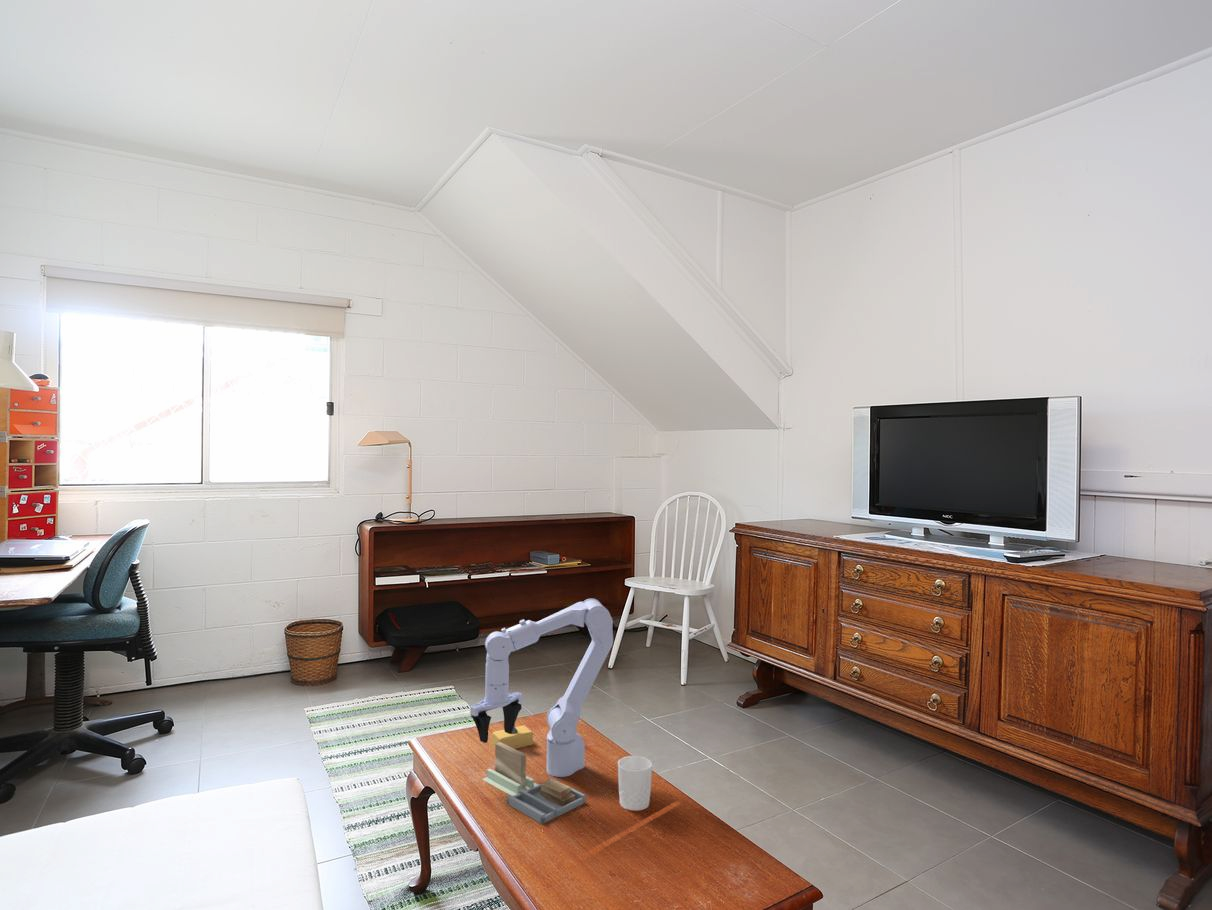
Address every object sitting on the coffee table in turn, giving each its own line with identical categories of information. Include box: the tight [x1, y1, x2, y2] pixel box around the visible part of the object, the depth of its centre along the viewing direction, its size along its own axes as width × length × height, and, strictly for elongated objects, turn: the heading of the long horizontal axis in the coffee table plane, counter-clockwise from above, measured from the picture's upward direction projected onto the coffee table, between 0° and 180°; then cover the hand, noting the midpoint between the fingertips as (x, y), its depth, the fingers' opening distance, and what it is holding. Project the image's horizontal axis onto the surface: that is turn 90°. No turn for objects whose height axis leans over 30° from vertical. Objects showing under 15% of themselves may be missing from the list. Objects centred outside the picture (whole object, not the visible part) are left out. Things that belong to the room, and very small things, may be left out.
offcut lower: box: [540, 789, 575, 807], centre depth 165 cm, size 4×8×1 cm, turn 46°
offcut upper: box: [540, 779, 571, 798], centre depth 165 cm, size 3×6×1 cm, turn 52°
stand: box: [481, 768, 539, 796], centre depth 172 cm, size 8×12×3 cm, turn 46°
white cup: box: [617, 755, 653, 811], centre depth 163 cm, size 8×8×10 cm
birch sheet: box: [494, 742, 527, 790], centre depth 172 cm, size 2×10×8 cm, turn 46°
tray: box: [507, 777, 586, 825], centre depth 162 cm, size 13×12×3 cm
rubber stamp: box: [491, 714, 534, 750], centre depth 196 cm, size 10×6×12 cm, turn 121°
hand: (496, 737), depth 175 cm, fingers open, 7 cm apart
